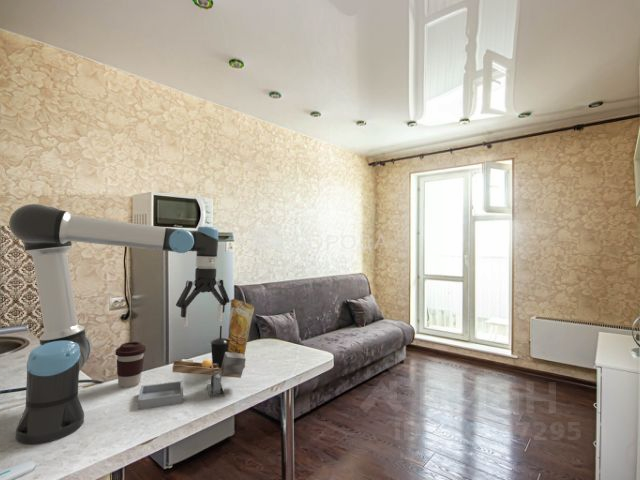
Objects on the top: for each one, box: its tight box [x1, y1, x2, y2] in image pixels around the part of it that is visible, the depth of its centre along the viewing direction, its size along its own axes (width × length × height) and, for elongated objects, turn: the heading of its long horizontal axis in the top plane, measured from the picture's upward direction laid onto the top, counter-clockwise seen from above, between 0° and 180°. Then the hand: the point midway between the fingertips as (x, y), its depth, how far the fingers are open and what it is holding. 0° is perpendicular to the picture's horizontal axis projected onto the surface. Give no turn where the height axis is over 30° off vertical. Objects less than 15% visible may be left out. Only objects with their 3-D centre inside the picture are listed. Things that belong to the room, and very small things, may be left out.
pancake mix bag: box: [227, 298, 256, 370], centre depth 150 cm, size 7×19×28 cm, turn 40°
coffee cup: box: [115, 341, 147, 388], centre depth 125 cm, size 10×10×15 cm
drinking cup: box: [210, 325, 230, 368], centre depth 137 cm, size 8×8×20 cm
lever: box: [172, 352, 247, 379], centre depth 124 cm, size 24×11×7 cm, turn 114°
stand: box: [206, 363, 225, 399], centre depth 122 cm, size 5×10×9 cm, turn 24°
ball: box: [201, 359, 212, 368], centre depth 120 cm, size 3×3×3 cm
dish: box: [136, 380, 184, 410], centre depth 115 cm, size 14×12×3 cm
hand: (202, 323), depth 125 cm, fingers open, 13 cm apart
